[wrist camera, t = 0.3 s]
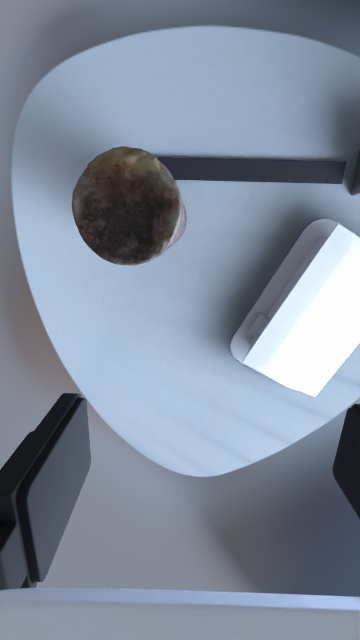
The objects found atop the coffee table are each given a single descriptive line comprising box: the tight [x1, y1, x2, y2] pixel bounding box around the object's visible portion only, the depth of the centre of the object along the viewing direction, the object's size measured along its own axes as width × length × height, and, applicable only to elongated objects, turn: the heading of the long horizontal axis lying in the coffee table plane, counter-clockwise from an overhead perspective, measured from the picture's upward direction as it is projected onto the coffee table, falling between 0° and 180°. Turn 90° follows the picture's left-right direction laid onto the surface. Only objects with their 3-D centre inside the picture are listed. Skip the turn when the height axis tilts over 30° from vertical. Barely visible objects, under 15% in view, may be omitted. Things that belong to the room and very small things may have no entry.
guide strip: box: [156, 157, 346, 184], centre depth 34 cm, size 2×27×1 cm, turn 89°
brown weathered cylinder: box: [72, 147, 186, 265], centre depth 27 cm, size 8×7×20 cm
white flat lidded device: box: [230, 218, 360, 396], centre depth 38 cm, size 15×23×4 cm, turn 151°
